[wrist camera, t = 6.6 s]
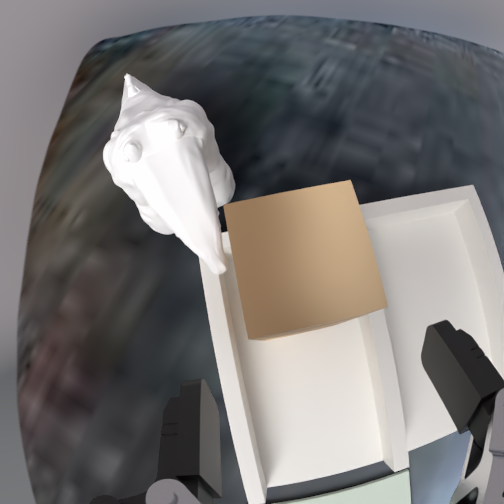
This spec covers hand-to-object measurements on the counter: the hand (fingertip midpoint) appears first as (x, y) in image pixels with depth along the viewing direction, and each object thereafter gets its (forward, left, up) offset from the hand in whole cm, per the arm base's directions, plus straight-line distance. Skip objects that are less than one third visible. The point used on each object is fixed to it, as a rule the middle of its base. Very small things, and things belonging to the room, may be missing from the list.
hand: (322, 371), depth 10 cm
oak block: (0, -4, -10) cm, 10 cm away
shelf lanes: (-5, 0, -11) cm, 12 cm away
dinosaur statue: (+7, -16, -11) cm, 20 cm away
